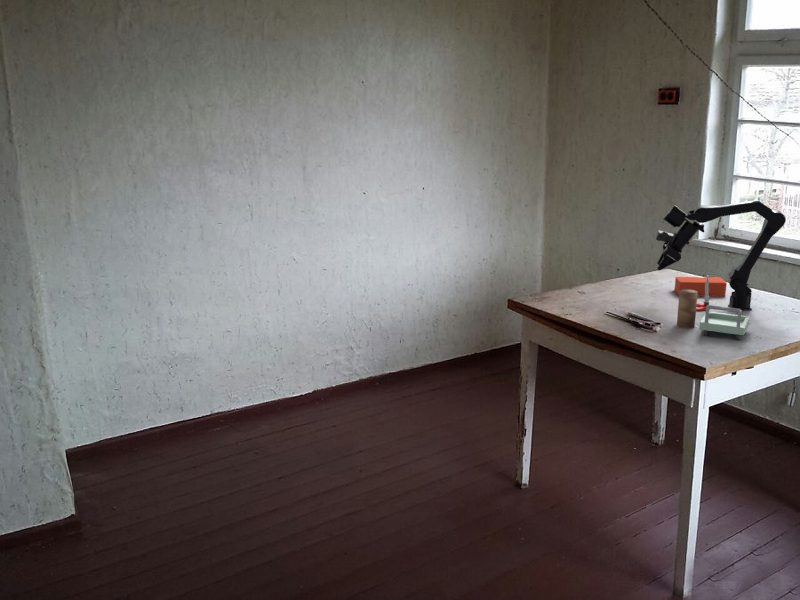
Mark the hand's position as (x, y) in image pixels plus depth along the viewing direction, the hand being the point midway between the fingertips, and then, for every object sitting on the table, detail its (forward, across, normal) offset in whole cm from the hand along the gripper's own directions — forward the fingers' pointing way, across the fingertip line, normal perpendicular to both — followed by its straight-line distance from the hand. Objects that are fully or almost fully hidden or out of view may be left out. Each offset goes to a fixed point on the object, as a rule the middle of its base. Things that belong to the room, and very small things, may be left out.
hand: (658, 266), depth 293 cm
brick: (+3, -19, +23) cm, 30 cm away
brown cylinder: (+7, +27, +16) cm, 32 cm away
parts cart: (0, +32, +26) cm, 42 cm away
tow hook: (+4, +3, +20) cm, 21 cm away
